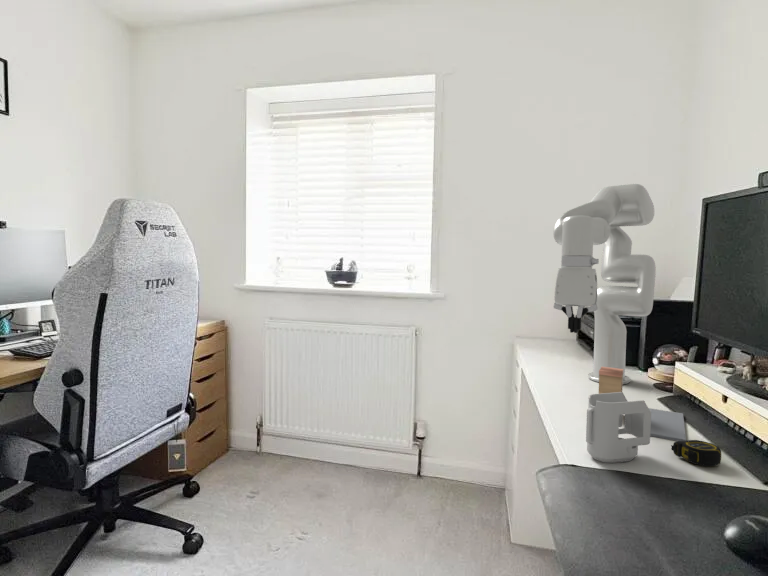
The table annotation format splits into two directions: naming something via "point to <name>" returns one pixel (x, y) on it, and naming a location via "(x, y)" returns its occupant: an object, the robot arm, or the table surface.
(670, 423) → the rubber mat
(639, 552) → the table surface
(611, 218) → the robot arm
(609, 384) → the oak block
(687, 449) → the tape measure
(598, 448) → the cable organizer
